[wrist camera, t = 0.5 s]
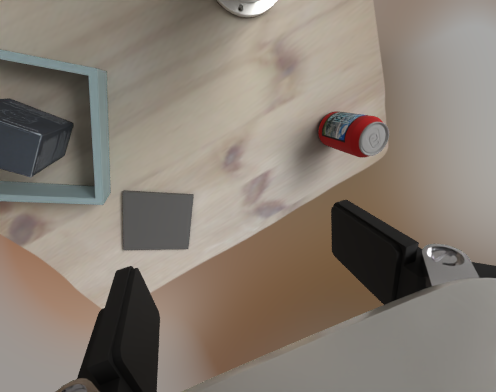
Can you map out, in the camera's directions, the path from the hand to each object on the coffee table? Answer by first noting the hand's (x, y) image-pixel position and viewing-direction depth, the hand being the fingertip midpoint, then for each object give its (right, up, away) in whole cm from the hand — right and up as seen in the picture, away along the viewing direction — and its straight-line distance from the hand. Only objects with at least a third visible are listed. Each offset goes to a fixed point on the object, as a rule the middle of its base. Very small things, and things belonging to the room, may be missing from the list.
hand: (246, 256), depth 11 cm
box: (-31, +13, +24) cm, 41 cm away
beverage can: (+17, +17, +38) cm, 44 cm away
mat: (-17, -2, +35) cm, 39 cm away
